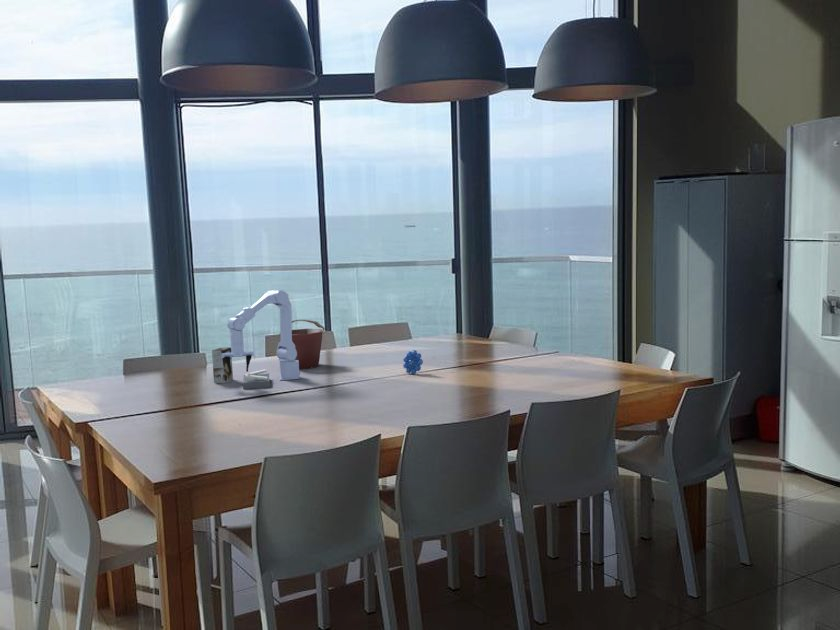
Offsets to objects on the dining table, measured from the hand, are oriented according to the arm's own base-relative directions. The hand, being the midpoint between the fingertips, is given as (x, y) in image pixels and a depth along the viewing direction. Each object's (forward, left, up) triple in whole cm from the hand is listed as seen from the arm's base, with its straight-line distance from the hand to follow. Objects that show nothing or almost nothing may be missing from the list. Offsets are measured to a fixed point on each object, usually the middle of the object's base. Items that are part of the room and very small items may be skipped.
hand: (238, 372), depth 390 cm
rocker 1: (-8, -11, -3) cm, 14 cm away
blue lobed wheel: (-84, -3, -8) cm, 84 cm away
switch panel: (-8, -6, -7) cm, 12 cm away
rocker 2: (-8, 0, -3) cm, 9 cm away
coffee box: (+8, -19, -8) cm, 22 cm away
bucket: (-32, -45, -8) cm, 56 cm away
